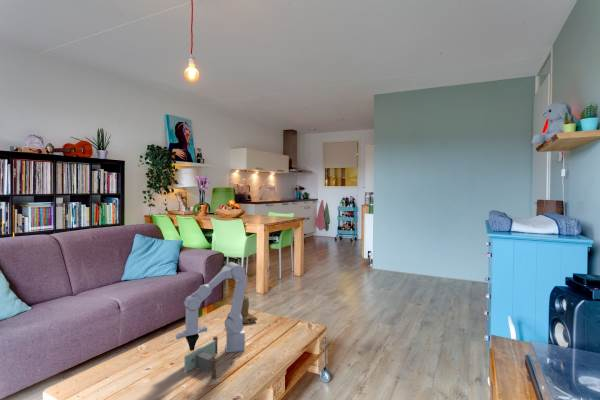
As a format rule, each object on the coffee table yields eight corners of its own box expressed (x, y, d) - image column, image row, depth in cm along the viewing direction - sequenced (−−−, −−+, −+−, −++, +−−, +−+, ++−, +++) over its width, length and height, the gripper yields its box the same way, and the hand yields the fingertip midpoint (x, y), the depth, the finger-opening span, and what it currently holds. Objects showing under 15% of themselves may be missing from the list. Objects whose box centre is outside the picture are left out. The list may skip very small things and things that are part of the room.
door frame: (217, 351, 164) (217, 336, 163) (215, 378, 140) (215, 360, 140) (213, 352, 163) (213, 336, 163) (211, 379, 140) (211, 361, 140)
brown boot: (229, 318, 207) (230, 295, 206) (246, 314, 214) (246, 291, 213) (240, 326, 194) (240, 301, 194) (257, 322, 201) (258, 298, 201)
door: (214, 352, 162) (214, 339, 161) (217, 354, 160) (217, 340, 160) (183, 371, 145) (183, 355, 145) (187, 372, 144) (187, 357, 144)
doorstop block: (214, 368, 148) (214, 355, 148) (208, 373, 145) (208, 359, 145) (202, 363, 152) (202, 351, 152) (195, 367, 149) (195, 355, 149)
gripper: (203, 315, 162) (202, 342, 162) (173, 322, 152) (173, 351, 153) (209, 319, 156) (208, 347, 157) (178, 327, 147) (178, 357, 147)
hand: (191, 349), depth 154 cm, fingers closed
